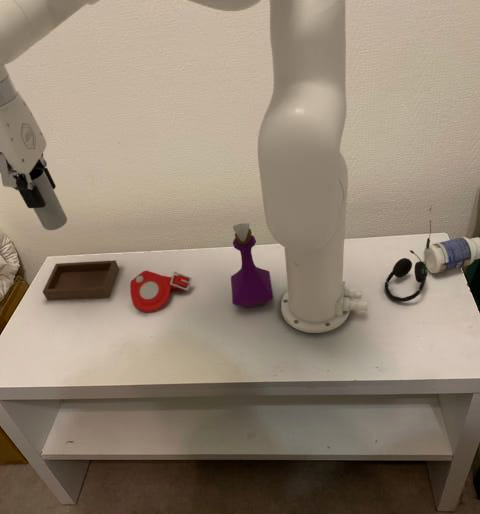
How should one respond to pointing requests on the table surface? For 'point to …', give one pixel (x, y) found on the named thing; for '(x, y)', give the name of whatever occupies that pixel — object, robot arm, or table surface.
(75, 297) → the shelf tray
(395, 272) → the headset
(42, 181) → the gray hollow tube
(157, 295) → the tracker holder
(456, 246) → the pill bottle
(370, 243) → the table surface
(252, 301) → the perfume bottle
